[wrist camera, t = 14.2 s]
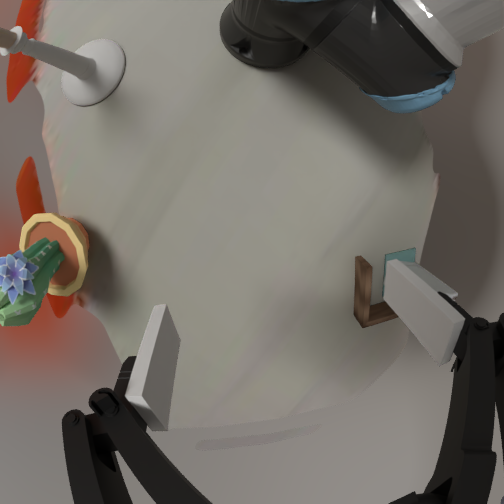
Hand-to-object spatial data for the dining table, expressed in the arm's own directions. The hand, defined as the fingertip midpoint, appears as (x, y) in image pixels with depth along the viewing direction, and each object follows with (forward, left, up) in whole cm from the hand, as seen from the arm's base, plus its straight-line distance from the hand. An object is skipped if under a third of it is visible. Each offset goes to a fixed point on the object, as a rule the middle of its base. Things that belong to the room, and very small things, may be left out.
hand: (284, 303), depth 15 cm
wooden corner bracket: (+22, +27, -32) cm, 47 cm away
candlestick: (-28, -22, -32) cm, 48 cm away
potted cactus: (+1, -34, -32) cm, 47 cm away
